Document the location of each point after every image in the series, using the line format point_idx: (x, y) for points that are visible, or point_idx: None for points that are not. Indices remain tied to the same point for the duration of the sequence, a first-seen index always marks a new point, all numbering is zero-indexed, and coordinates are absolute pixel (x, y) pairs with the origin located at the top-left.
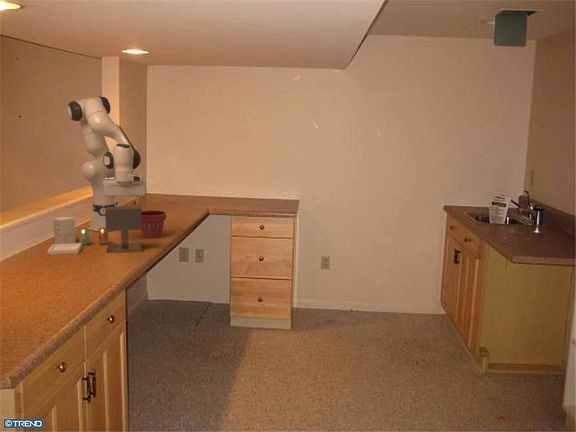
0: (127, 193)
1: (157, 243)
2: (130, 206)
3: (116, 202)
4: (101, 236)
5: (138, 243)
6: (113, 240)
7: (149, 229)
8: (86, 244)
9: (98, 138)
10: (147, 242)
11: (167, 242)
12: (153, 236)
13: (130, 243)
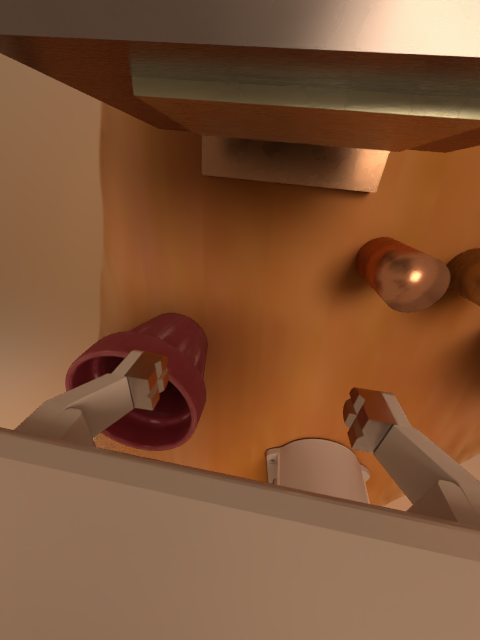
0: (180, 537)
1: (147, 215)
2: (175, 21)
3: (379, 417)
4: (415, 249)
5: (223, 163)
6: (320, 321)
7: (170, 327)
8: (473, 251)
9: None
10: (190, 247)
11: (109, 224)
12: (169, 314)
13: (263, 174)
